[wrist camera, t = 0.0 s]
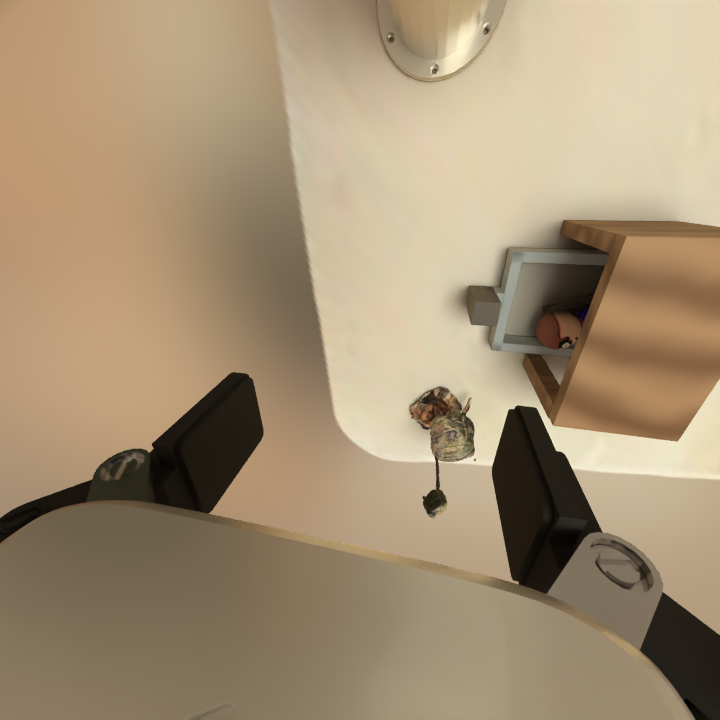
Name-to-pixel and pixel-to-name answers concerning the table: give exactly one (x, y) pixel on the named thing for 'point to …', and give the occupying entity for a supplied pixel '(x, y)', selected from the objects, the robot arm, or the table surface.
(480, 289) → the sled
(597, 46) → the table surface
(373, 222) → the table surface
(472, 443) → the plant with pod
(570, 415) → the small wooden table
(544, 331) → the character figurine
